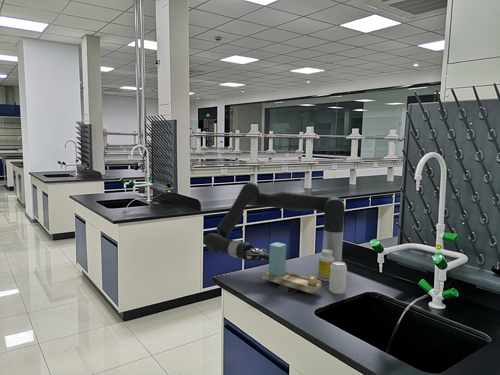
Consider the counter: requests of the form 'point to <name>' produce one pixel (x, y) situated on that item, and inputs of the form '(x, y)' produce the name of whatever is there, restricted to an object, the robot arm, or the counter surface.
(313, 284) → the counterweight
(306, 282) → the beam
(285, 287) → the fulcrum
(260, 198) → the robot arm
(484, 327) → the counter surface
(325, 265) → the supplement bottle
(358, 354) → the counter surface
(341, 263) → the can
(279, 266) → the block
